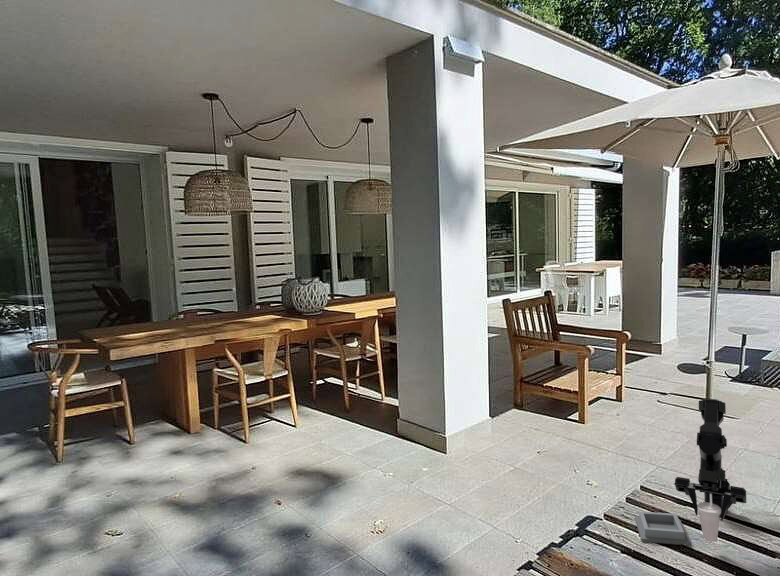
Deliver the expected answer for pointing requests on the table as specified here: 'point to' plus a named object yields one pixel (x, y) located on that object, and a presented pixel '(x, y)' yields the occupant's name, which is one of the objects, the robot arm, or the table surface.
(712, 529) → the smoothie
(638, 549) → the table surface
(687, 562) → the table surface
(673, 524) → the holder
